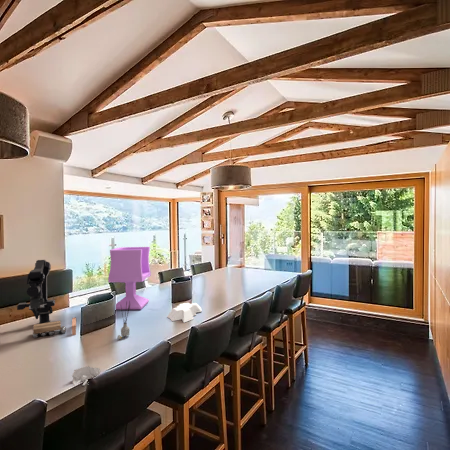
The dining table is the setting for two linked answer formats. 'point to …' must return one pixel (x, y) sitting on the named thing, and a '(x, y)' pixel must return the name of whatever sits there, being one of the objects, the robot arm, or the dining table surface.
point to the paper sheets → (184, 312)
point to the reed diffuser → (124, 325)
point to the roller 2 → (51, 332)
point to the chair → (130, 273)
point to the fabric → (84, 374)
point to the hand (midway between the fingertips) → (37, 319)
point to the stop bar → (74, 326)
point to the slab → (47, 327)
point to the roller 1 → (35, 335)
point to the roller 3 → (63, 329)
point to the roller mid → (43, 333)
